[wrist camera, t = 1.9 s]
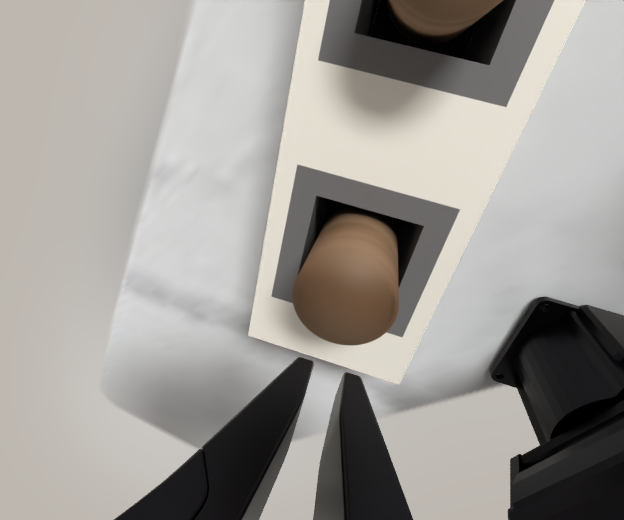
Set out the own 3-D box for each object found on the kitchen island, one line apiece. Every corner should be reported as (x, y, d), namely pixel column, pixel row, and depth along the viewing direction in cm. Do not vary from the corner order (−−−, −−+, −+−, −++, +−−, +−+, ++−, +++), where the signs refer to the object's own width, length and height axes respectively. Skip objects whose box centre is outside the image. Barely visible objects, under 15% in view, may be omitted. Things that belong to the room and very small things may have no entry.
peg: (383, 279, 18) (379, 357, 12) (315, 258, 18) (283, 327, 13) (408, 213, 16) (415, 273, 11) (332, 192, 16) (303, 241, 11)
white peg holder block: (398, 315, 23) (399, 384, 17) (281, 279, 23) (248, 335, 18) (607, -176, 12) (768, -376, 7) (384, -216, 13) (376, -425, 8)
